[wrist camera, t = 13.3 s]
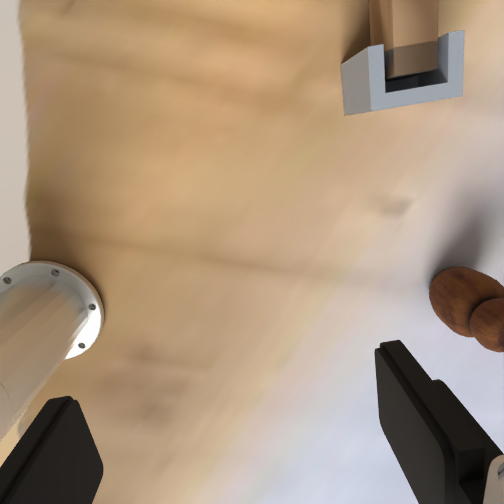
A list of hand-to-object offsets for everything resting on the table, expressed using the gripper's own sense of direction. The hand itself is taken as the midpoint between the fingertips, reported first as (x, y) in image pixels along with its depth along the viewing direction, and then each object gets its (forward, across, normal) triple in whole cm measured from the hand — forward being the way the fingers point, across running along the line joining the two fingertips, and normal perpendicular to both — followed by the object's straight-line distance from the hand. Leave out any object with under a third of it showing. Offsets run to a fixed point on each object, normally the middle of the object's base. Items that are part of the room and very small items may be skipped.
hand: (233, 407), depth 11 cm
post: (+30, -16, -10) cm, 35 cm away
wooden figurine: (+30, -23, +13) cm, 40 cm away
